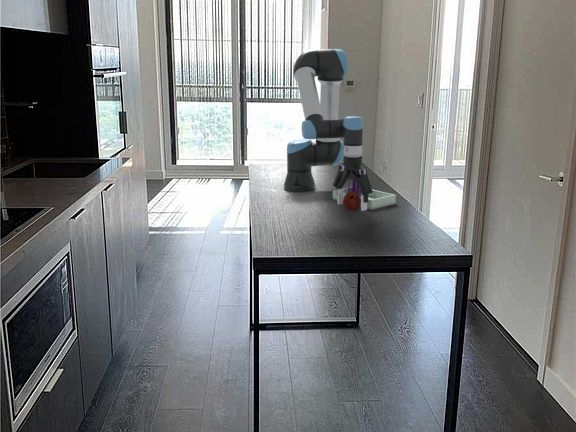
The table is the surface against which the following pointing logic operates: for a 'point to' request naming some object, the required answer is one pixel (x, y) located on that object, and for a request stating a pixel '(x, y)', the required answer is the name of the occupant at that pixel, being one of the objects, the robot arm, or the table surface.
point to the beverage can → (354, 187)
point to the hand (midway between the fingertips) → (351, 207)
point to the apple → (352, 201)
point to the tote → (374, 199)
